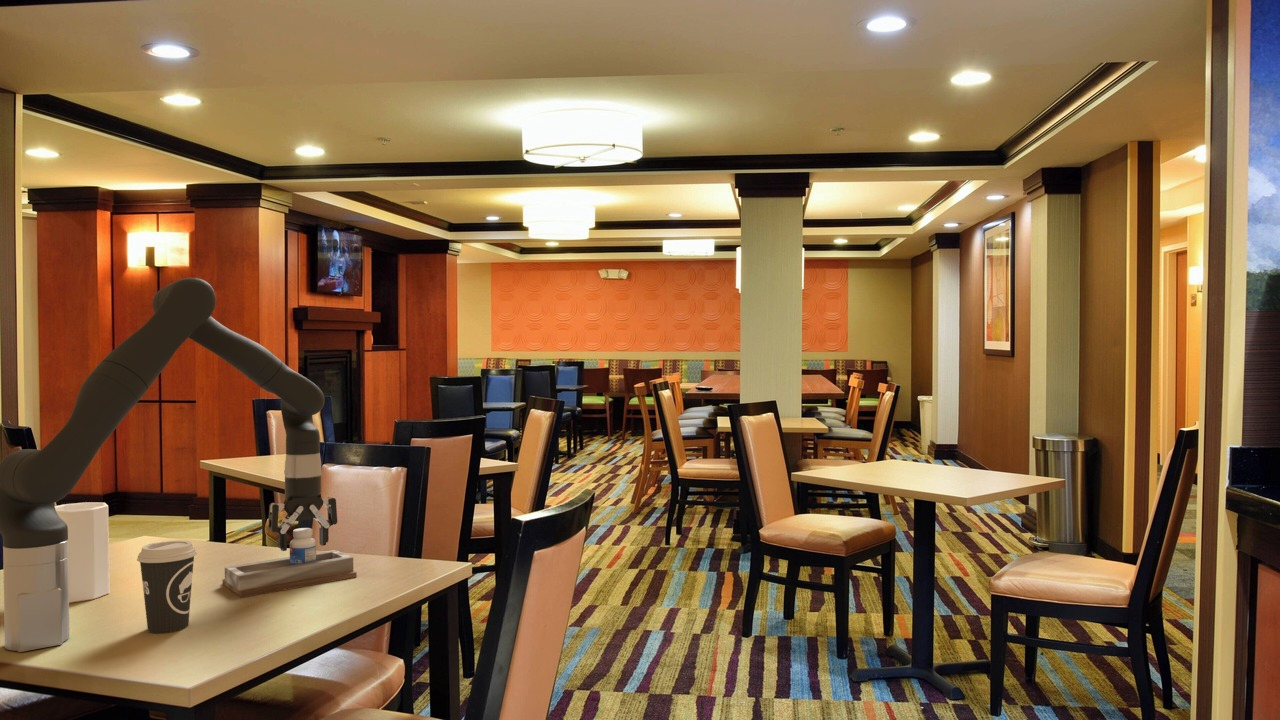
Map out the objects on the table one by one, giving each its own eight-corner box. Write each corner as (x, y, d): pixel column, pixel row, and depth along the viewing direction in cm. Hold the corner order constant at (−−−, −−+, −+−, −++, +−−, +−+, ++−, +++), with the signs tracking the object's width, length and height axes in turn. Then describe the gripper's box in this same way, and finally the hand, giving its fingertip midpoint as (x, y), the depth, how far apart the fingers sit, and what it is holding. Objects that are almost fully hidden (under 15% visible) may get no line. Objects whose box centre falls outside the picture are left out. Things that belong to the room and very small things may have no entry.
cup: (36, 606, 173) (35, 512, 173) (58, 591, 184) (56, 503, 184) (100, 601, 176) (99, 509, 176) (117, 587, 187) (116, 500, 187)
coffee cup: (184, 616, 165) (183, 537, 165) (207, 626, 159) (206, 543, 159) (129, 629, 158) (127, 546, 157) (151, 639, 152) (150, 553, 151)
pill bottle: (284, 575, 191) (283, 530, 191) (304, 569, 196) (303, 526, 196) (301, 577, 189) (301, 532, 189) (321, 572, 194) (321, 528, 194)
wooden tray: (356, 577, 193) (356, 558, 193) (241, 597, 178) (241, 577, 178) (332, 565, 204) (332, 548, 204) (222, 583, 188) (222, 565, 188)
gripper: (275, 478, 185) (275, 555, 185) (341, 472, 194) (341, 545, 194) (264, 475, 191) (264, 549, 191) (328, 469, 200) (329, 540, 200)
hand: (303, 547), depth 193 cm, fingers open, 8 cm apart
